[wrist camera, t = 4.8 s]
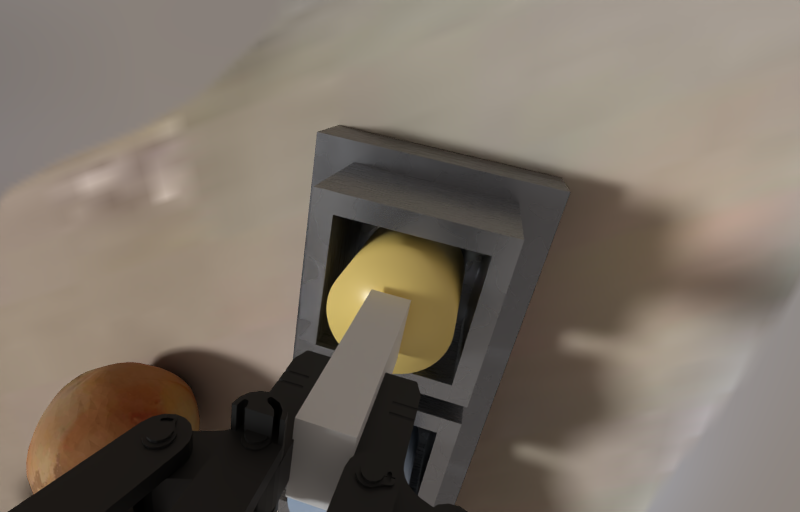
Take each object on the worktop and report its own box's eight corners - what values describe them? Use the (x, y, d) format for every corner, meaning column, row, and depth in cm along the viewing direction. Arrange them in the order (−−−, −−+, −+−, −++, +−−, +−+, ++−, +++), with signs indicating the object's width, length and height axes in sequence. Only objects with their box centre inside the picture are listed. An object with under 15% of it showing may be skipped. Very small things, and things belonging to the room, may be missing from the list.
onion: (197, 455, 37) (99, 580, 28) (100, 386, 36) (-35, 490, 27) (247, 392, 32) (150, 514, 23) (138, 312, 32) (-6, 406, 23)
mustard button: (356, 296, 22) (319, 353, 18) (371, 205, 20) (335, 243, 16) (450, 323, 22) (437, 388, 17) (477, 232, 20) (470, 280, 15)
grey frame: (294, 476, 35) (240, 580, 28) (338, 125, 23) (265, 147, 16) (437, 525, 34) (420, 648, 26) (561, 177, 22) (591, 228, 15)
